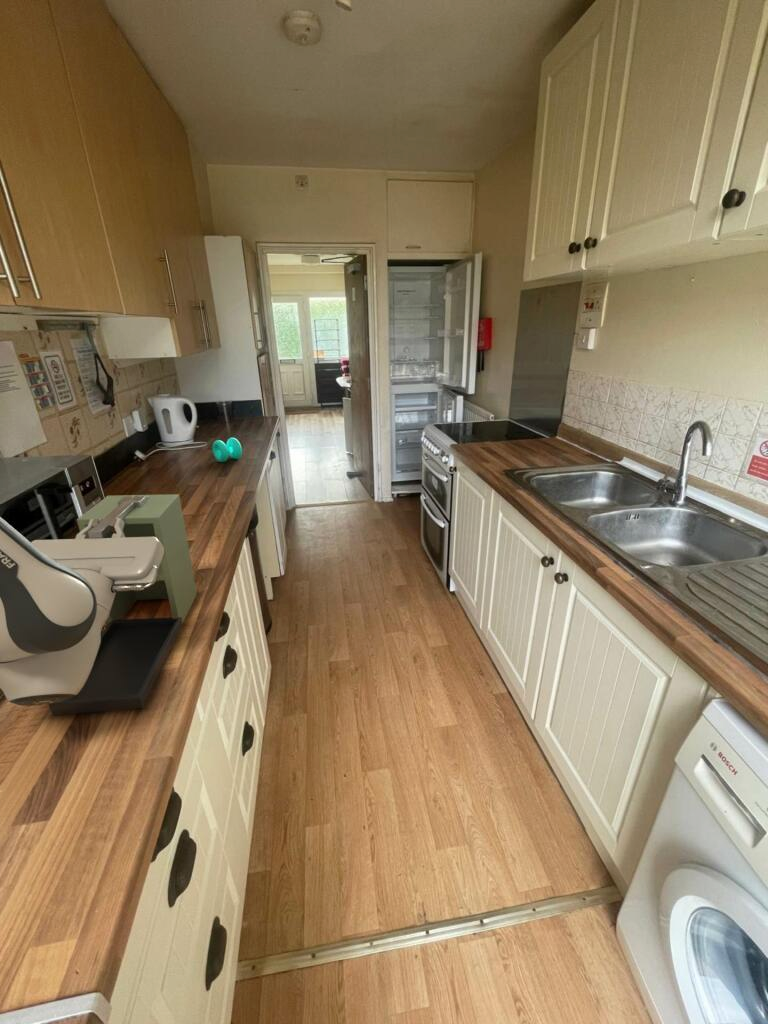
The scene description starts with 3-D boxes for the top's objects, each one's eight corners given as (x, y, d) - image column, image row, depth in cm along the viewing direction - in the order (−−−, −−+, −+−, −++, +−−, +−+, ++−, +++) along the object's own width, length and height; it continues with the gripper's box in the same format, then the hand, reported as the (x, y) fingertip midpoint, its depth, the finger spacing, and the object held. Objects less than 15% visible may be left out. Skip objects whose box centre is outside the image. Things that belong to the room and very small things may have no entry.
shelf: (108, 631, 87) (76, 519, 77) (133, 597, 98) (107, 495, 88) (180, 627, 88) (158, 517, 78) (196, 594, 99) (179, 494, 89)
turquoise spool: (212, 460, 197) (209, 439, 193) (232, 456, 204) (229, 435, 200) (224, 464, 191) (221, 442, 187) (244, 460, 198) (241, 439, 194)
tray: (52, 715, 68) (48, 704, 67) (113, 629, 87) (110, 620, 86) (142, 708, 70) (139, 698, 69) (183, 625, 89) (181, 616, 88)
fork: (108, 537, 71) (107, 531, 70) (82, 538, 70) (81, 532, 70) (150, 498, 87) (149, 492, 86) (129, 498, 86) (128, 493, 86)
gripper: (145, 580, 65) (164, 508, 73) (-3, 586, 62) (34, 511, 70) (159, 598, 70) (176, 529, 78) (23, 605, 67) (54, 532, 76)
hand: (107, 520), depth 74 cm, fingers closed on fork
